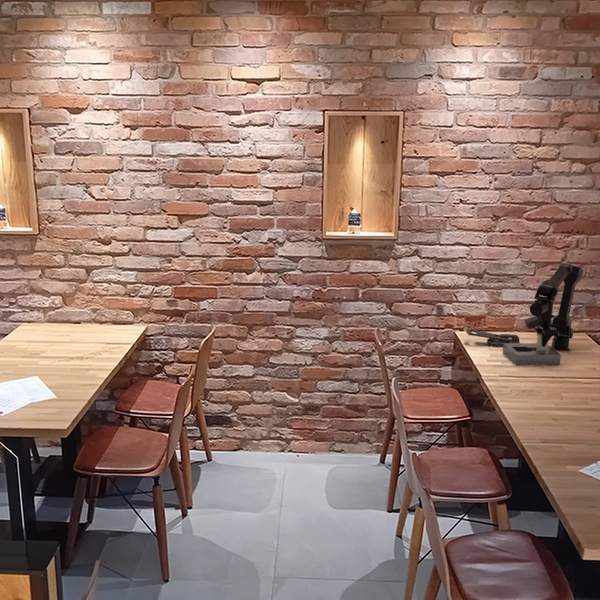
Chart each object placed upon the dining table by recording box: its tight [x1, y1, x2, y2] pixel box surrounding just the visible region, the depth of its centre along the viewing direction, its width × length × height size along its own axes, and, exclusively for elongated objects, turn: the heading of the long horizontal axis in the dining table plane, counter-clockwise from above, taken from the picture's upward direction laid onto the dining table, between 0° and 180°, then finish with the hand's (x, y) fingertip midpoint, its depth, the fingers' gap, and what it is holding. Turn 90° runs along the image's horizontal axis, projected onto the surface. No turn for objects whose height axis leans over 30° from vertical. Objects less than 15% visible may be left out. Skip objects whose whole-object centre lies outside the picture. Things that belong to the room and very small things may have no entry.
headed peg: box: [536, 334, 548, 351], centre depth 323 cm, size 5×5×10 cm
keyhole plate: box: [502, 342, 562, 366], centre depth 323 cm, size 20×16×5 cm
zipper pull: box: [465, 328, 520, 348], centre depth 342 cm, size 9×7×25 cm
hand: (541, 345), depth 323 cm, fingers closed on headed peg, 3 cm apart
